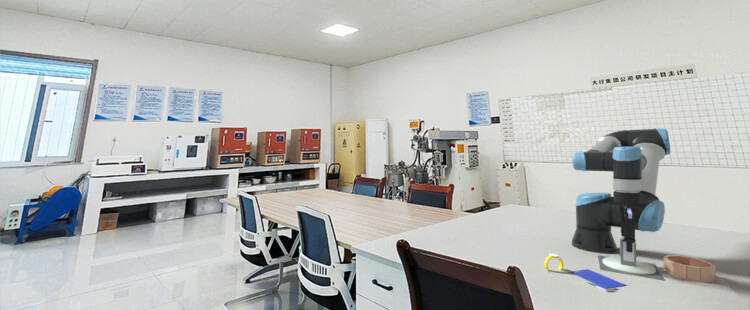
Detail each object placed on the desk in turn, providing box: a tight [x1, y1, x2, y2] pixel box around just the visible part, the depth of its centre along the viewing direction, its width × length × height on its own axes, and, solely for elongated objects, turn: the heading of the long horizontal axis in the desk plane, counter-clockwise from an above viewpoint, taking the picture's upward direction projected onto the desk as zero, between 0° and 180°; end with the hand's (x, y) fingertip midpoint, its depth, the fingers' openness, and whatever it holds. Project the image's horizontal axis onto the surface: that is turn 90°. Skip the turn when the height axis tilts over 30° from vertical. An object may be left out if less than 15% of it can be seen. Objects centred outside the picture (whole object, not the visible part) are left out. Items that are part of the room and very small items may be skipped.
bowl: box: [662, 254, 716, 283], centre depth 95 cm, size 11×11×5 cm
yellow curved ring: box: [543, 253, 564, 273], centre depth 101 cm, size 6×3×6 cm, turn 93°
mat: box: [597, 255, 666, 282], centre depth 102 cm, size 16×16×1 cm
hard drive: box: [569, 268, 628, 293], centre depth 93 cm, size 2×8×12 cm
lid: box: [602, 238, 656, 275], centre depth 102 cm, size 14×14×9 cm
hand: (627, 258), depth 102 cm, fingers open, 5 cm apart
